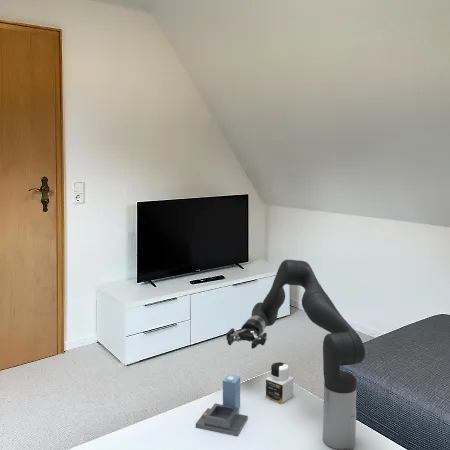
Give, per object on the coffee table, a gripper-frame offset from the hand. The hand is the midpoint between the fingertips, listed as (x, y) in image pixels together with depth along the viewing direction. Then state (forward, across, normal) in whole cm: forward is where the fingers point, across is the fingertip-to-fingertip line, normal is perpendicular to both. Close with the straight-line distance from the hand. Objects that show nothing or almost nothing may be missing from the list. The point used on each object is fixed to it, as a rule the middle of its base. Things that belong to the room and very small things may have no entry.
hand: (240, 344), depth 168 cm
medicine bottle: (-3, +14, +19) cm, 23 cm away
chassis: (+20, 0, +18) cm, 27 cm away
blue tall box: (+11, 0, +18) cm, 22 cm away
